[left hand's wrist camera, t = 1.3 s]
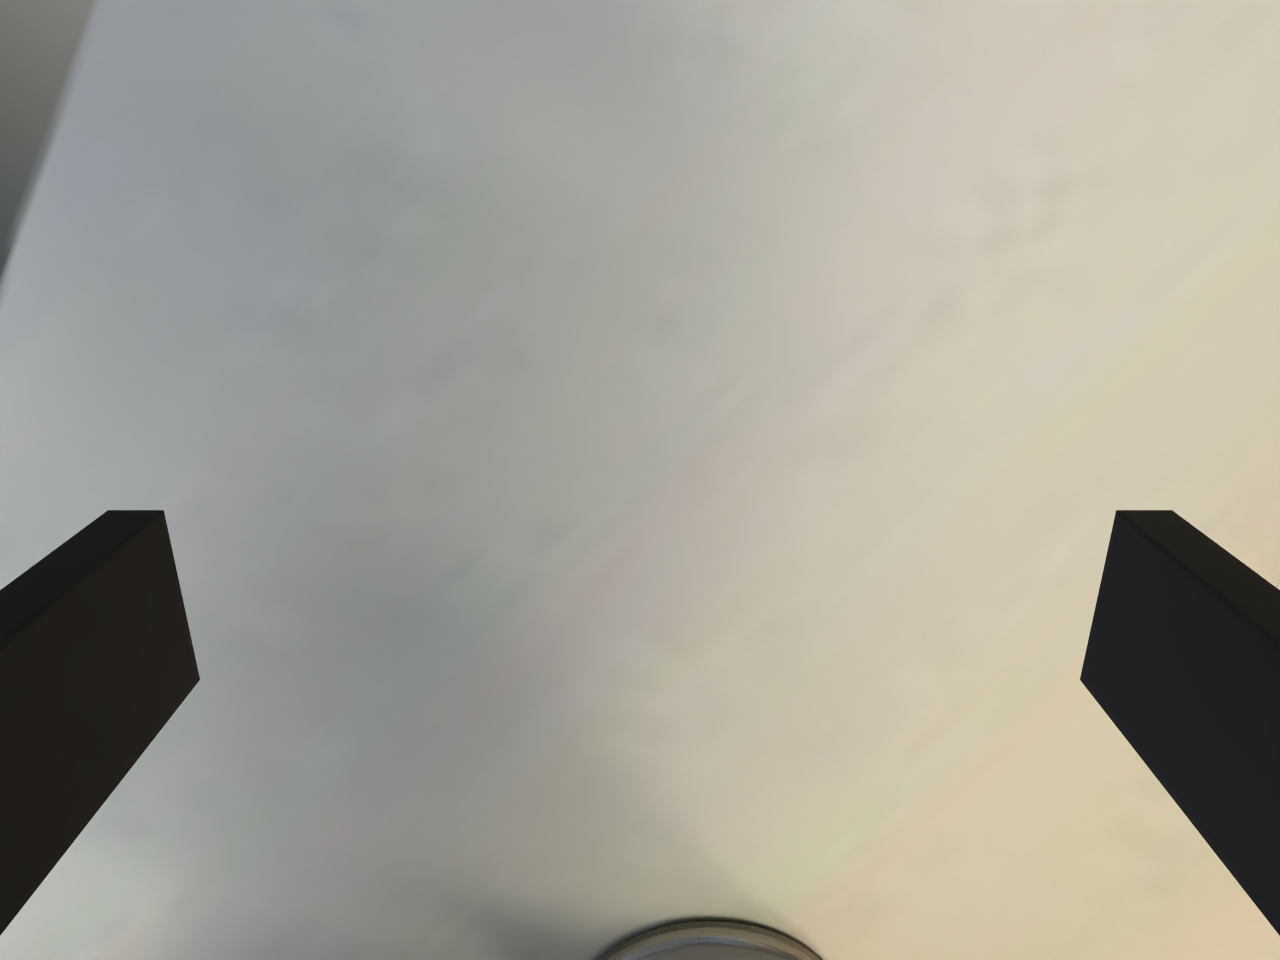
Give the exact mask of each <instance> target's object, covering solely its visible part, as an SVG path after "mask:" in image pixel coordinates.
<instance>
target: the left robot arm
mask: <svg viewBox="0 0 1280 960" xmlns="http://www.w3.org/2000/svg"><path fill="white" fill-rule="evenodd" d="M199 680H200V678H199V673H198V668H197V664H196V659H195V654H194V650H193V645H192V640H191V636H190V631H189V626H188V622H187V617H186V612H185V608H184V603H183V598H182V594H181V589H180V584H179V580H178V575H177V570H176V566H175V561H174V556H173V552H172V547H171V542H170V538H169V533H168V528H167V524H166V519H165V514H164V510H108V511H107V512H105V513H104V514H103V515H101V516H100V517H98V518H97V519H96V520H94V521H93V522H92V523H90V524H89V525H88V526H86V527H85V528H84V529H82V530H81V531H80V532H78V533H77V534H76V535H74V536H73V537H72V538H70V539H69V540H67V541H66V542H65V543H63V544H62V545H61V546H59V547H58V548H57V549H55V550H54V551H53V552H51V553H50V554H49V555H47V556H46V557H45V558H43V559H42V560H41V561H39V562H38V563H36V564H35V565H34V566H32V567H31V568H30V569H28V570H27V571H26V572H24V573H23V574H22V575H20V576H19V577H18V578H16V579H15V580H14V581H12V582H11V583H10V584H8V585H7V586H5V587H4V588H3V589H1V590H0V935H1V934H2V933H3V931H4V930H5V929H6V927H7V926H8V925H9V924H10V922H11V921H12V920H13V919H14V917H15V916H16V915H17V913H18V912H19V911H20V910H21V908H22V907H23V906H24V904H25V903H26V902H27V901H28V899H29V898H30V897H31V895H32V894H33V893H34V892H35V890H36V889H37V888H38V886H39V885H40V884H41V883H42V881H43V880H44V879H45V878H46V876H47V875H48V874H49V872H50V871H51V870H52V869H53V867H54V866H55V865H56V863H57V862H58V861H59V860H60V858H61V857H62V856H63V854H64V853H65V852H66V851H67V849H68V848H69V847H70V845H71V844H72V843H73V842H74V840H75V839H76V838H77V837H78V835H79V834H80V833H81V831H82V830H83V829H84V828H85V826H86V825H87V824H88V822H89V821H90V820H91V819H92V817H93V816H94V815H95V813H96V812H97V811H98V810H99V808H100V807H101V806H102V804H103V803H104V802H105V801H106V799H107V798H108V797H109V796H110V794H111V793H112V792H113V790H114V789H115V788H116V787H117V785H118V784H119V783H120V781H121V780H122V779H123V778H124V776H125V775H126V774H127V772H128V771H129V770H130V769H131V767H132V766H133V765H134V763H135V762H136V761H137V760H138V758H139V757H140V756H141V755H142V753H143V752H144V751H145V749H146V748H147V747H148V746H149V744H150V743H151V742H152V740H153V739H154V738H155V737H156V735H157V734H158V733H159V731H160V730H161V729H162V728H163V726H164V725H165V724H166V722H167V721H168V720H169V719H170V717H171V716H172V715H173V713H174V712H175V711H176V710H177V708H178V707H179V706H180V705H181V703H182V702H183V701H184V699H185V698H186V697H187V696H188V694H189V693H190V692H191V690H192V689H193V688H194V687H195V685H196V684H197V683H198V681H199ZM1080 680H1081V681H1082V683H1083V684H1084V685H1085V687H1086V688H1087V689H1088V690H1089V692H1090V693H1091V694H1092V696H1093V697H1094V698H1095V699H1096V701H1097V702H1098V703H1099V705H1100V706H1101V707H1102V708H1103V710H1104V711H1105V712H1106V713H1107V715H1108V716H1109V717H1110V719H1111V720H1112V721H1113V722H1114V724H1115V725H1116V726H1117V728H1118V729H1119V730H1120V731H1121V733H1122V734H1123V735H1124V737H1125V738H1126V739H1127V740H1128V742H1129V743H1130V744H1131V746H1132V747H1133V748H1134V749H1135V751H1136V752H1137V753H1138V754H1139V756H1140V757H1141V758H1142V760H1143V761H1144V762H1145V763H1146V765H1147V766H1148V767H1149V769H1150V770H1151V771H1152V772H1153V774H1154V775H1155V776H1156V778H1157V779H1158V780H1159V781H1160V783H1161V784H1162V785H1163V787H1164V788H1165V789H1166V790H1167V792H1168V793H1169V794H1170V796H1171V797H1172V798H1173V799H1174V801H1175V802H1176V803H1177V804H1178V806H1179V807H1180V808H1181V810H1182V811H1183V812H1184V813H1185V815H1186V816H1187V817H1188V819H1189V820H1190V821H1191V822H1192V824H1193V825H1194V826H1195V828H1196V829H1197V830H1198V831H1199V833H1200V834H1201V835H1202V837H1203V838H1204V839H1205V840H1206V842H1207V843H1208V844H1209V845H1210V847H1211V848H1212V849H1213V851H1214V852H1215V853H1216V854H1217V856H1218V857H1219V858H1220V860H1221V861H1222V862H1223V863H1224V865H1225V866H1226V867H1227V869H1228V870H1229V871H1230V872H1231V874H1232V875H1233V876H1234V878H1235V879H1236V880H1237V881H1238V883H1239V884H1240V885H1241V886H1242V888H1243V889H1244V890H1245V892H1246V893H1247V894H1248V895H1249V897H1250V898H1251V899H1252V901H1253V902H1254V903H1255V904H1256V906H1257V907H1258V908H1259V910H1260V911H1261V912H1262V913H1263V915H1264V916H1265V917H1266V919H1267V920H1268V921H1269V922H1270V924H1271V925H1272V926H1273V927H1274V929H1275V930H1276V931H1277V933H1278V934H1279V935H1280V590H1279V589H1277V588H1276V587H1275V586H1273V585H1272V584H1270V583H1269V582H1268V581H1266V580H1265V579H1264V578H1262V577H1261V576H1260V575H1258V574H1257V573H1256V572H1254V571H1253V570H1252V569H1250V568H1249V567H1248V566H1246V565H1245V564H1244V563H1242V562H1241V561H1239V560H1238V559H1237V558H1235V557H1234V556H1233V555H1231V554H1230V553H1229V552H1227V551H1226V550H1225V549H1223V548H1222V547H1221V546H1219V545H1218V544H1217V543H1215V542H1214V541H1213V540H1211V539H1210V538H1208V537H1207V536H1206V535H1204V534H1203V533H1202V532H1200V531H1199V530H1198V529H1196V528H1195V527H1194V526H1192V525H1191V524H1190V523H1188V522H1187V521H1186V520H1184V519H1183V518H1182V517H1180V516H1179V515H1177V514H1176V513H1175V512H1173V511H1172V510H1116V514H1115V519H1114V524H1113V528H1112V533H1111V538H1110V542H1109V547H1108V552H1107V556H1106V561H1105V566H1104V570H1103V575H1102V580H1101V584H1100V589H1099V594H1098V598H1097V603H1096V608H1095V612H1094V617H1093V622H1092V626H1091V631H1090V636H1089V640H1088V645H1087V650H1086V654H1085V659H1084V664H1083V668H1082V673H1081V678H1080ZM598 960H820V959H819V958H818V957H817V956H816V955H814V954H813V953H812V952H811V951H809V950H808V949H806V948H805V947H804V946H802V945H800V944H799V943H797V942H795V941H793V940H791V939H789V938H787V937H785V936H783V935H781V934H778V933H775V932H772V931H770V930H767V929H763V928H759V927H756V926H751V925H746V924H741V923H732V922H720V921H700V922H688V923H680V924H675V925H669V926H665V927H661V928H657V929H654V930H651V931H648V932H645V933H642V934H640V935H637V936H635V937H633V938H630V939H628V940H626V941H624V942H623V943H621V944H619V945H617V946H616V947H614V948H613V949H611V950H609V951H608V952H607V953H605V954H604V955H603V956H602V957H600V958H599V959H598Z"/></svg>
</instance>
